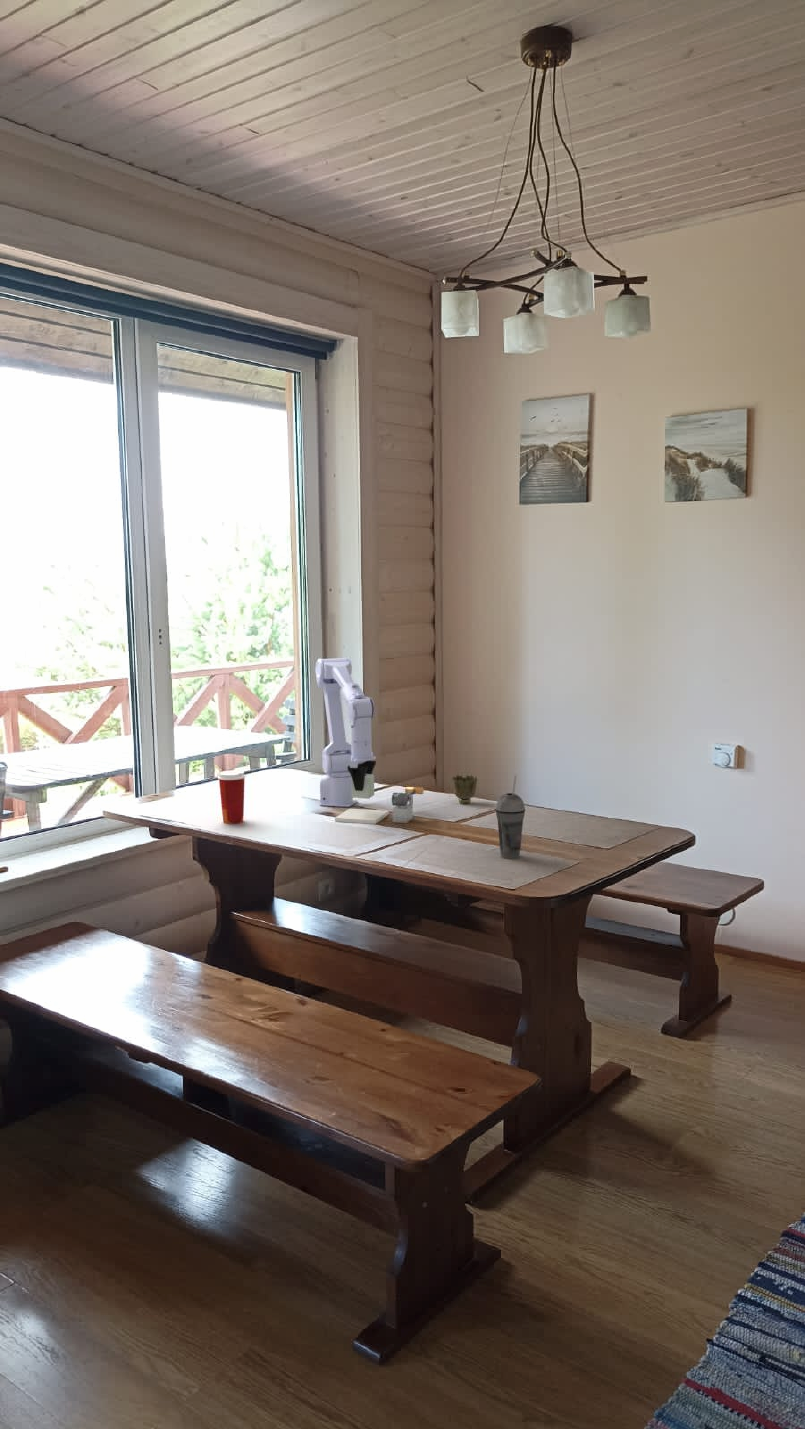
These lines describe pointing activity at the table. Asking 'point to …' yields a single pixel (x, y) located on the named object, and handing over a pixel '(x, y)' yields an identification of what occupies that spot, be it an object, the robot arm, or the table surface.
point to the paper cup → (232, 796)
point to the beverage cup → (510, 823)
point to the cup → (464, 788)
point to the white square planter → (403, 812)
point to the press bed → (362, 816)
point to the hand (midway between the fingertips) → (362, 788)
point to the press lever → (405, 796)
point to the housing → (365, 788)
